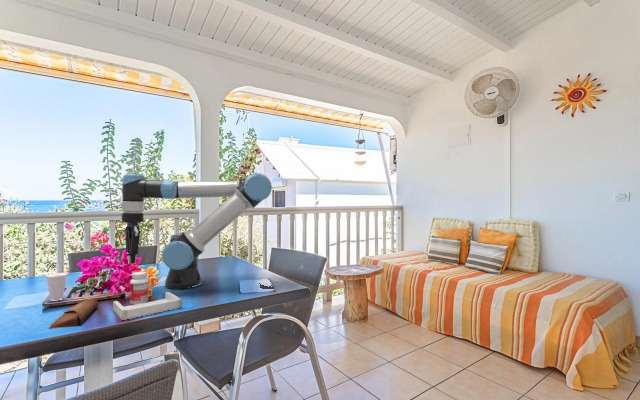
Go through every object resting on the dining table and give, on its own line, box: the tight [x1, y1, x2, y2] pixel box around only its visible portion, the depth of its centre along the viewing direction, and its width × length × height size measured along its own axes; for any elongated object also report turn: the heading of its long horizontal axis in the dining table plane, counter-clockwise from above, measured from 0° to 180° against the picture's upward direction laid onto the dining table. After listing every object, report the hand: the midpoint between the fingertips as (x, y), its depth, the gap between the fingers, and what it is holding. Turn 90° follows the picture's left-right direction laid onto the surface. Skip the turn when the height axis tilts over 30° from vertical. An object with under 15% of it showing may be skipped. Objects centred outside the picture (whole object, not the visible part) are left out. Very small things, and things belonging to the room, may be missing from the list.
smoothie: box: [45, 262, 69, 300], centre depth 120 cm, size 6×6×14 cm
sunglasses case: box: [48, 298, 99, 330], centre depth 103 cm, size 18×7×7 cm
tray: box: [112, 291, 183, 321], centre depth 112 cm, size 18×13×3 cm
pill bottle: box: [129, 271, 150, 305], centre depth 119 cm, size 6×6×11 cm
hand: (131, 271), depth 127 cm, fingers closed
